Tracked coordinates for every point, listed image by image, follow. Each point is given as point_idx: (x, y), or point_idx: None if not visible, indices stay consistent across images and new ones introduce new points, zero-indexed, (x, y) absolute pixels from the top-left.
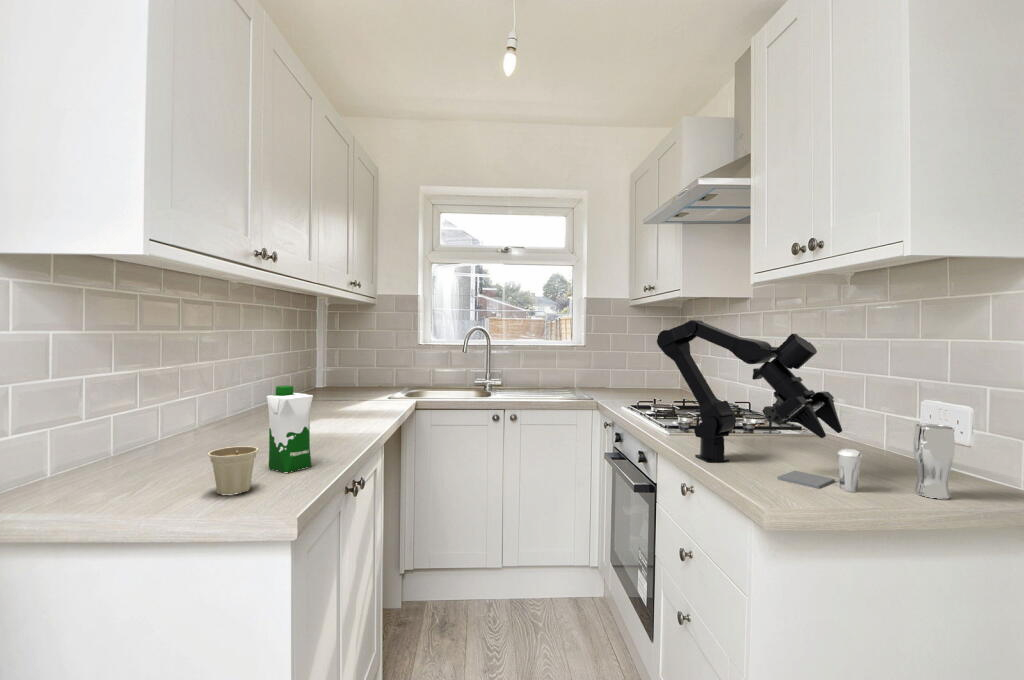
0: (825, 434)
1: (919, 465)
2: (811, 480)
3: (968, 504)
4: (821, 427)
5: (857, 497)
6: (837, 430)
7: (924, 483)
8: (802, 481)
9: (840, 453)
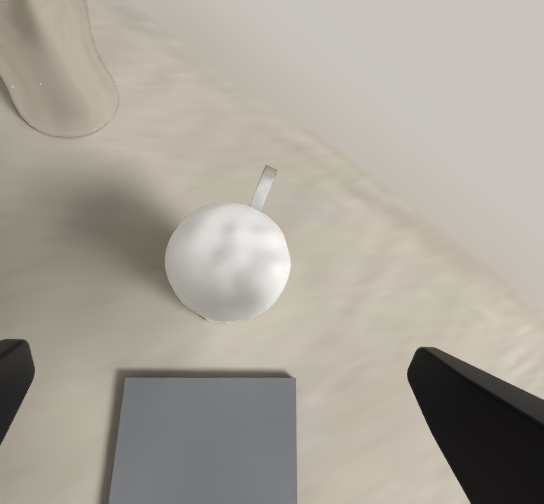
0: (431, 348)
1: (66, 36)
2: (237, 434)
3: (103, 29)
4: (499, 384)
5: (289, 250)
6: (19, 385)
7: (95, 80)
8: (285, 452)
9: (280, 291)
